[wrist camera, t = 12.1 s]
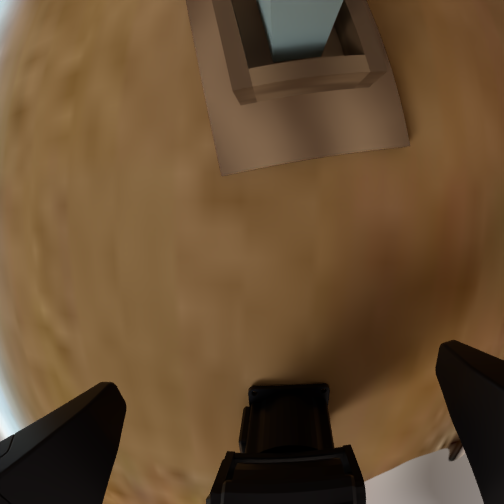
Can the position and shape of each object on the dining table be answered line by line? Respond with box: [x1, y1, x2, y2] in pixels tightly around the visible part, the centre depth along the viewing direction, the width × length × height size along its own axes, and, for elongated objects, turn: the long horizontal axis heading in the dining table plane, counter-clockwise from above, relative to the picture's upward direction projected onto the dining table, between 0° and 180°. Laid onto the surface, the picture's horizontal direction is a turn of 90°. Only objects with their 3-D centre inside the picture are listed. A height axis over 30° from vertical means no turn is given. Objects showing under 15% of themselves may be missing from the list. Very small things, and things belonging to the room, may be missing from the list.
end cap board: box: [186, 0, 410, 176], centre depth 13 cm, size 12×18×4 cm, turn 12°
